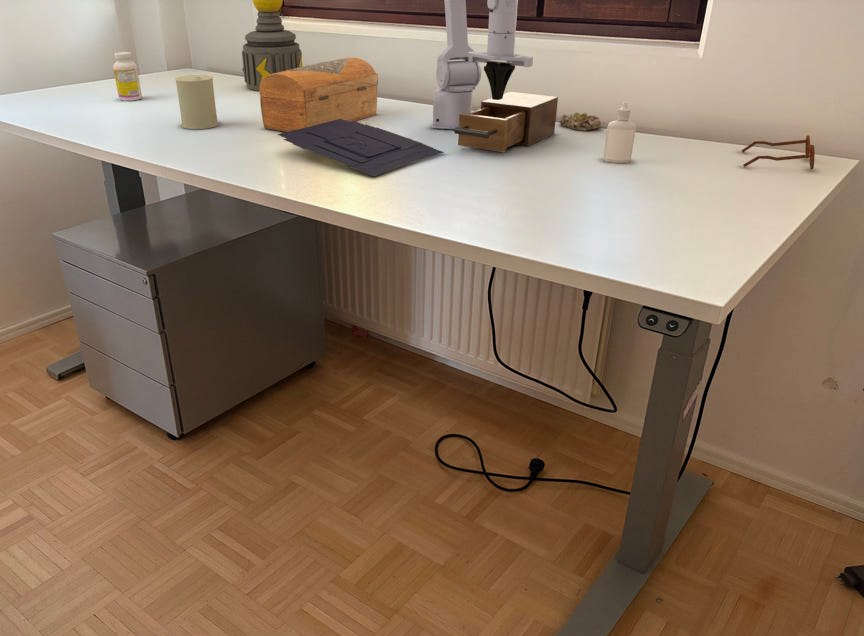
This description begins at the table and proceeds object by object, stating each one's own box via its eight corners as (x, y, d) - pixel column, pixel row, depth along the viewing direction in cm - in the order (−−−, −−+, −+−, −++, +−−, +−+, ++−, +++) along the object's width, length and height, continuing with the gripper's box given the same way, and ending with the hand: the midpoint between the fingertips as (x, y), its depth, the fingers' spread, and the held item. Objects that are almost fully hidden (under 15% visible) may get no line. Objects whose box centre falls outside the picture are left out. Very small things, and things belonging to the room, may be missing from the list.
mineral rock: (608, 116, 185) (596, 112, 178) (605, 134, 186) (592, 131, 180) (568, 112, 191) (555, 109, 184) (565, 130, 192) (552, 127, 186)
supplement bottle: (125, 96, 225) (117, 51, 218) (145, 97, 224) (138, 51, 217) (115, 101, 219) (106, 54, 213) (136, 101, 218) (128, 54, 212)
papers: (345, 128, 180) (346, 113, 178) (443, 164, 165) (446, 148, 163) (270, 148, 164) (270, 131, 162) (371, 189, 149) (373, 172, 147)
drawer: (492, 157, 158) (494, 124, 154) (446, 149, 164) (447, 118, 160) (530, 139, 171) (533, 109, 167) (486, 133, 176) (488, 103, 173)
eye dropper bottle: (623, 165, 155) (633, 105, 149) (599, 160, 158) (607, 102, 152) (633, 161, 157) (643, 102, 151) (609, 156, 161) (617, 99, 155)
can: (192, 131, 185) (186, 80, 179) (175, 125, 191) (168, 75, 185) (225, 125, 190) (219, 75, 184) (207, 119, 196) (201, 71, 190)
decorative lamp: (236, 91, 231) (225, -17, 216) (255, 81, 247) (246, -21, 232) (294, 92, 228) (287, -17, 213) (310, 82, 244) (304, -20, 229)
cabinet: (527, 146, 169) (531, 107, 165) (478, 139, 175) (481, 101, 171) (554, 134, 179) (558, 96, 175) (507, 127, 186) (510, 91, 181)
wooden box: (332, 107, 208) (330, 54, 201) (379, 114, 200) (379, 59, 193) (257, 128, 187) (252, 69, 180) (307, 136, 179) (303, 75, 172)
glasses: (813, 173, 149) (820, 148, 146) (742, 167, 153) (748, 143, 150) (806, 157, 159) (812, 133, 157) (740, 152, 163) (745, 128, 161)
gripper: (462, 32, 158) (459, 98, 165) (524, 36, 151) (518, 105, 158) (478, 28, 163) (475, 93, 170) (539, 32, 156) (533, 100, 163)
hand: (497, 99), depth 164 cm, fingers closed
